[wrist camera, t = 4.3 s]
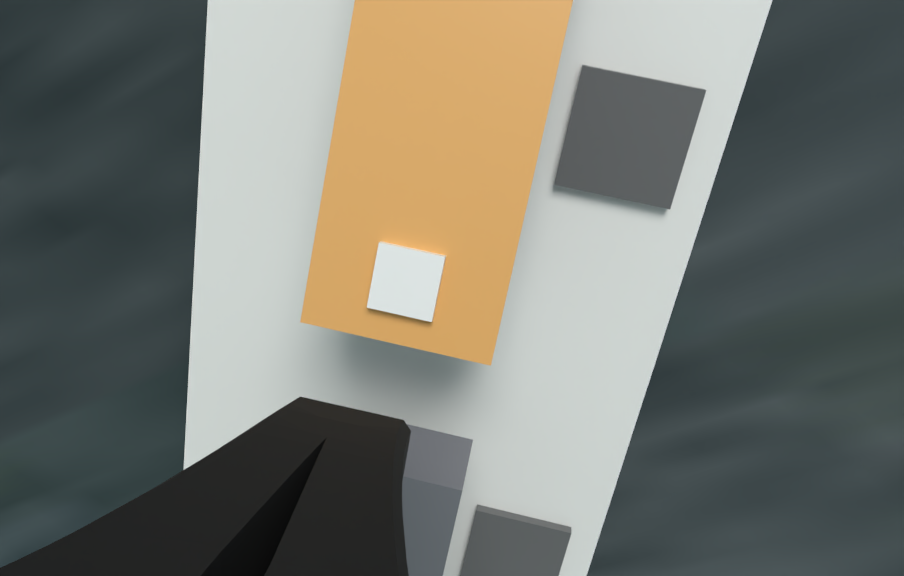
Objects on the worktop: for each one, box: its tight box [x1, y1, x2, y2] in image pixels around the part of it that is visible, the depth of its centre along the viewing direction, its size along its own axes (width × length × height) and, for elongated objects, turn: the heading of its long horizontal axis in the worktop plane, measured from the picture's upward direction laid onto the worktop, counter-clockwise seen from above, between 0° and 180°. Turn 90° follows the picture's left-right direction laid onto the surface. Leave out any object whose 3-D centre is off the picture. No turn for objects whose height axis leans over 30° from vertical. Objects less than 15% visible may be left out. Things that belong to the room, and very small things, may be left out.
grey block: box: [402, 424, 473, 576], centre depth 15 cm, size 3×7×1 cm, turn 170°
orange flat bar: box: [300, 0, 573, 366], centre depth 11 cm, size 3×7×1 cm, turn 170°
